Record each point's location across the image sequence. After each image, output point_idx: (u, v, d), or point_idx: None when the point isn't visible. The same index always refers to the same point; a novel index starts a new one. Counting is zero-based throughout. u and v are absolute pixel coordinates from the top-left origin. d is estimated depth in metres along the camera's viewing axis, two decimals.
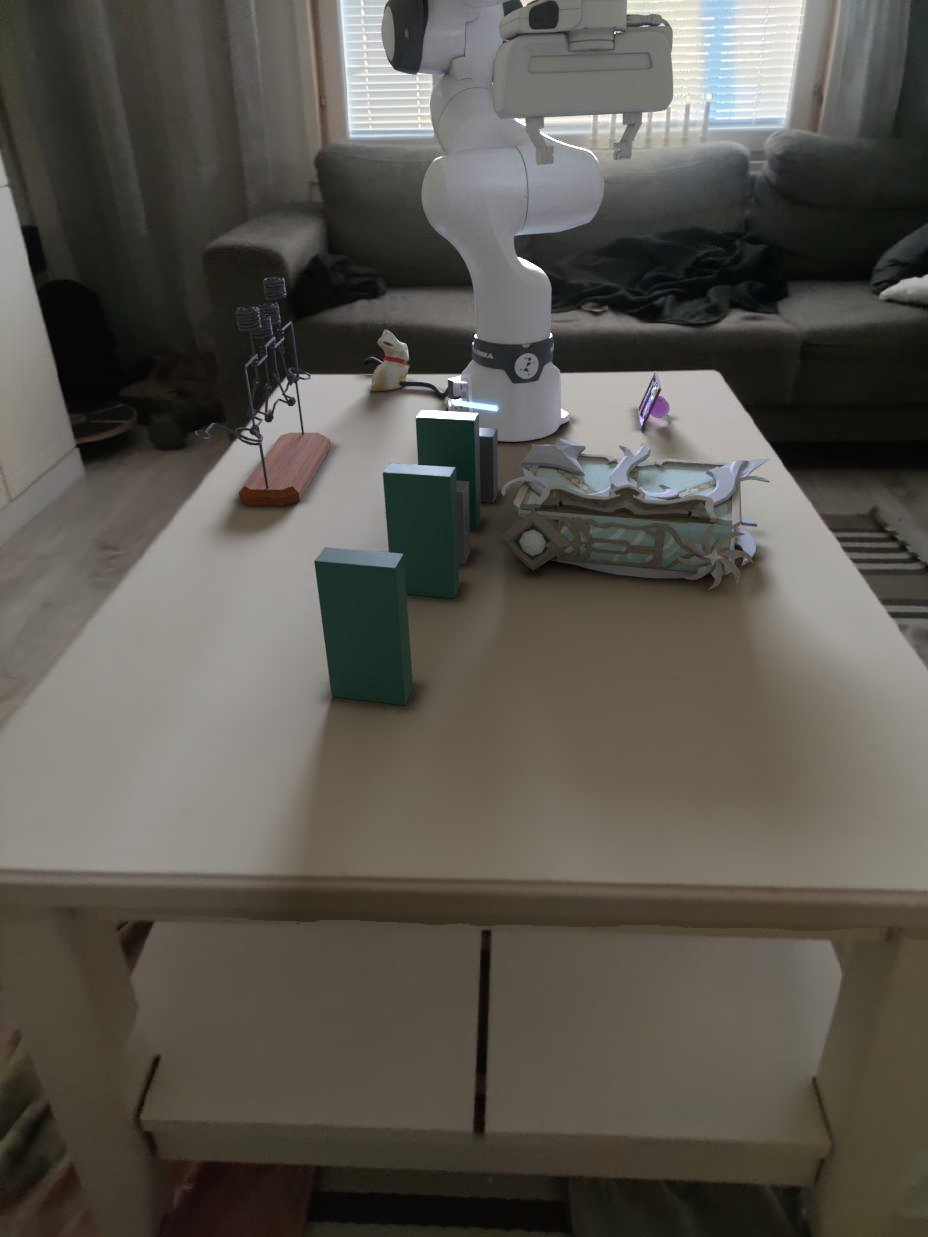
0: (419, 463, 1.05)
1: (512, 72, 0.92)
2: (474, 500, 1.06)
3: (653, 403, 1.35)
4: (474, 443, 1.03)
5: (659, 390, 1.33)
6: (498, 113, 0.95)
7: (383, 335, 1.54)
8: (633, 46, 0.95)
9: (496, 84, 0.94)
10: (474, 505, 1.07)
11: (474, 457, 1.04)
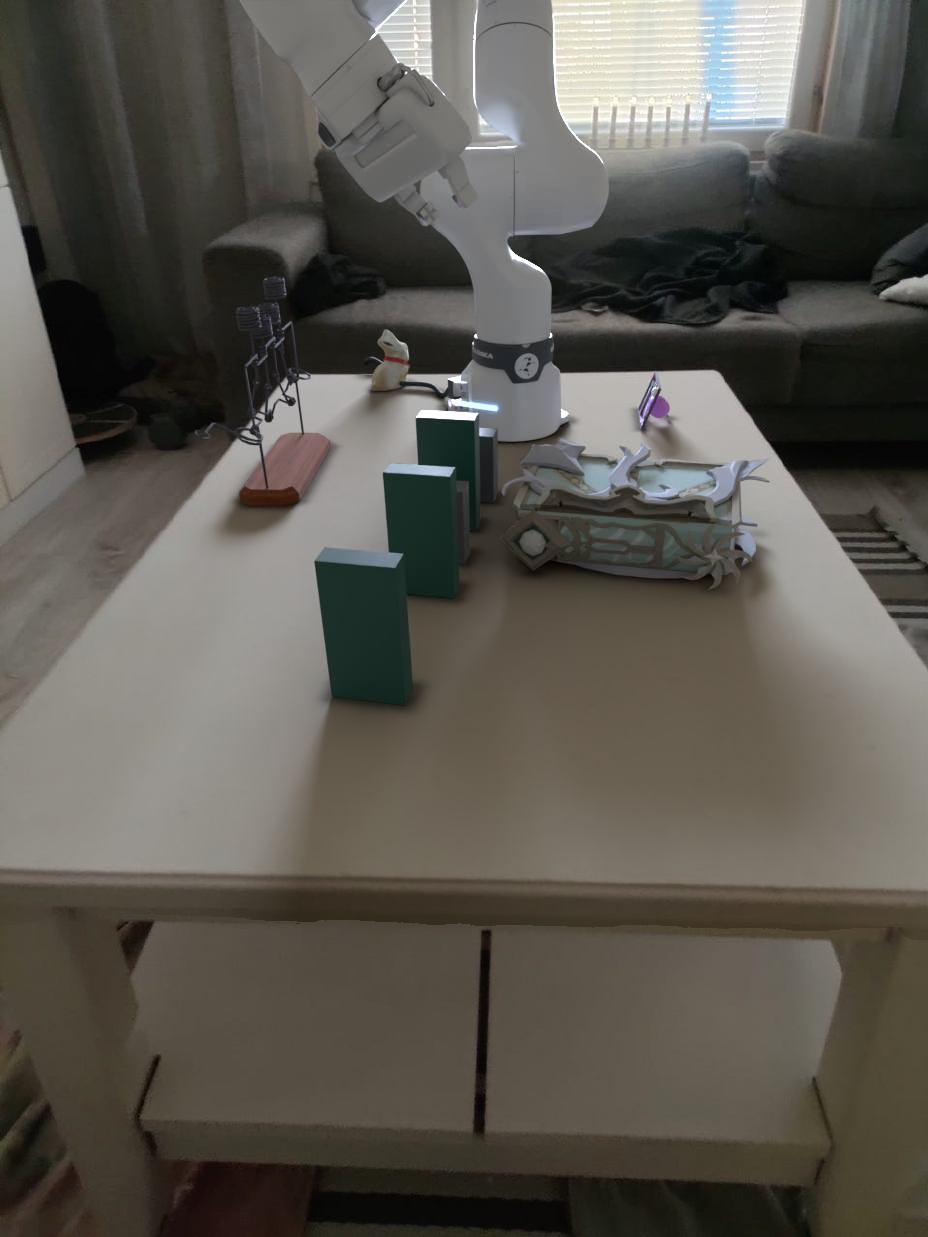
0: (419, 463, 1.05)
1: (352, 175, 0.97)
2: (474, 500, 1.06)
3: (653, 403, 1.35)
4: (474, 443, 1.03)
5: (659, 390, 1.33)
6: None
7: (383, 335, 1.54)
8: (390, 120, 0.84)
9: None
10: (474, 505, 1.07)
11: (474, 457, 1.04)
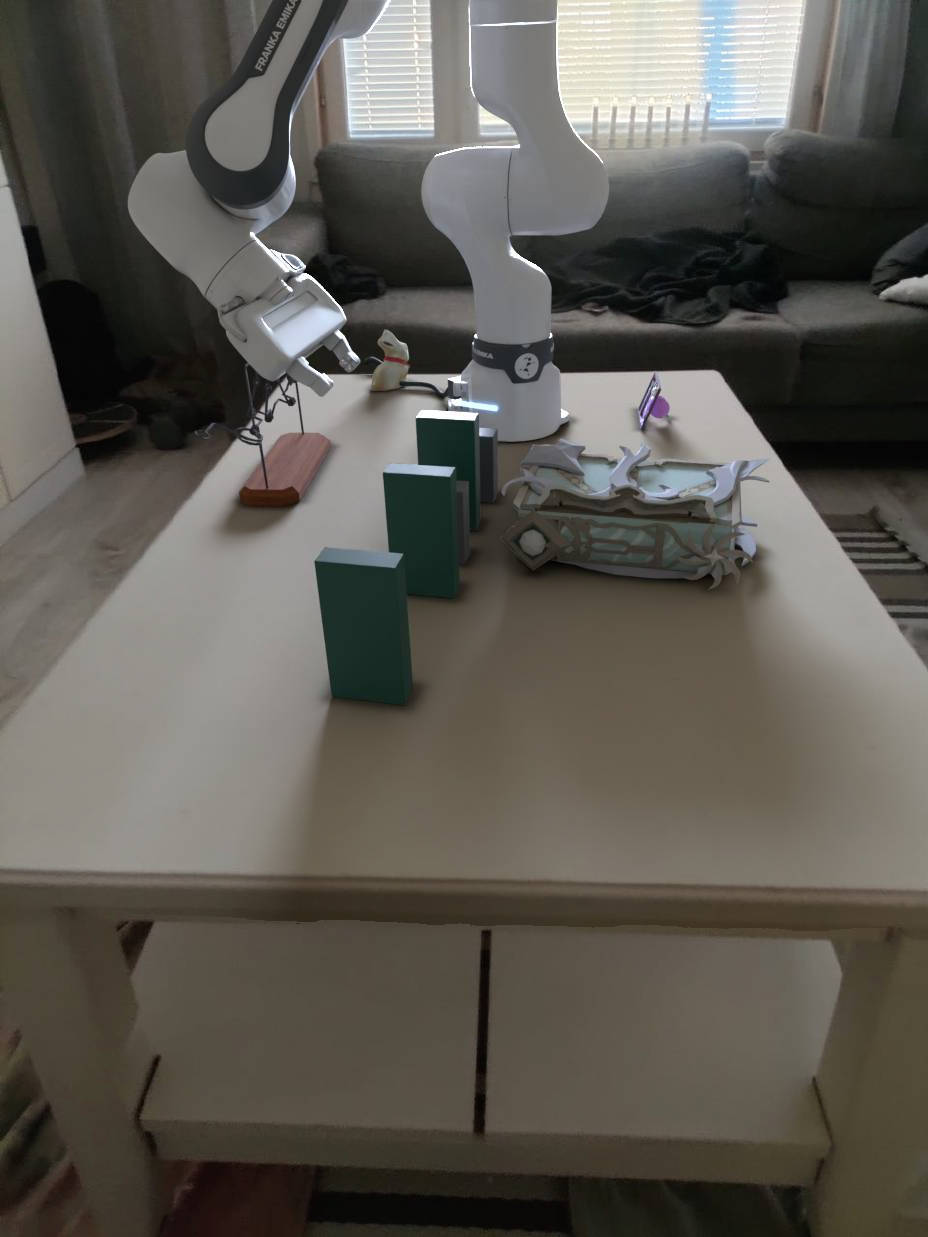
0: (419, 463, 1.05)
1: None
2: (474, 500, 1.06)
3: (653, 403, 1.35)
4: (474, 443, 1.03)
5: (659, 390, 1.33)
6: None
7: (383, 335, 1.54)
8: None
9: None
10: (474, 505, 1.07)
11: (474, 457, 1.04)
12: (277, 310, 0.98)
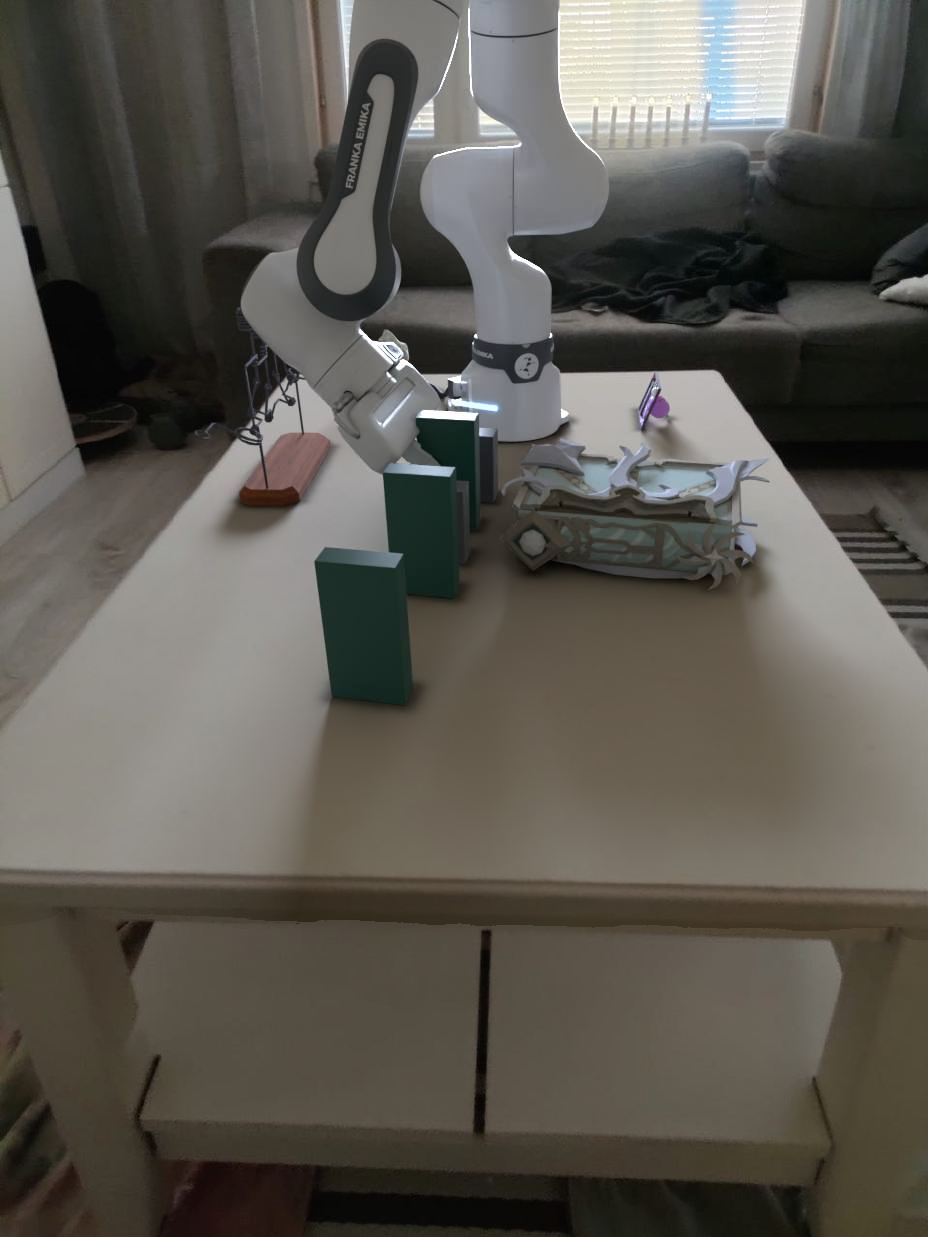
0: None
1: None
2: (474, 500, 1.06)
3: (653, 403, 1.35)
4: (474, 443, 1.03)
5: (659, 390, 1.33)
6: None
7: (383, 335, 1.54)
8: None
9: None
10: (474, 505, 1.07)
11: (474, 457, 1.04)
12: (383, 402, 1.01)
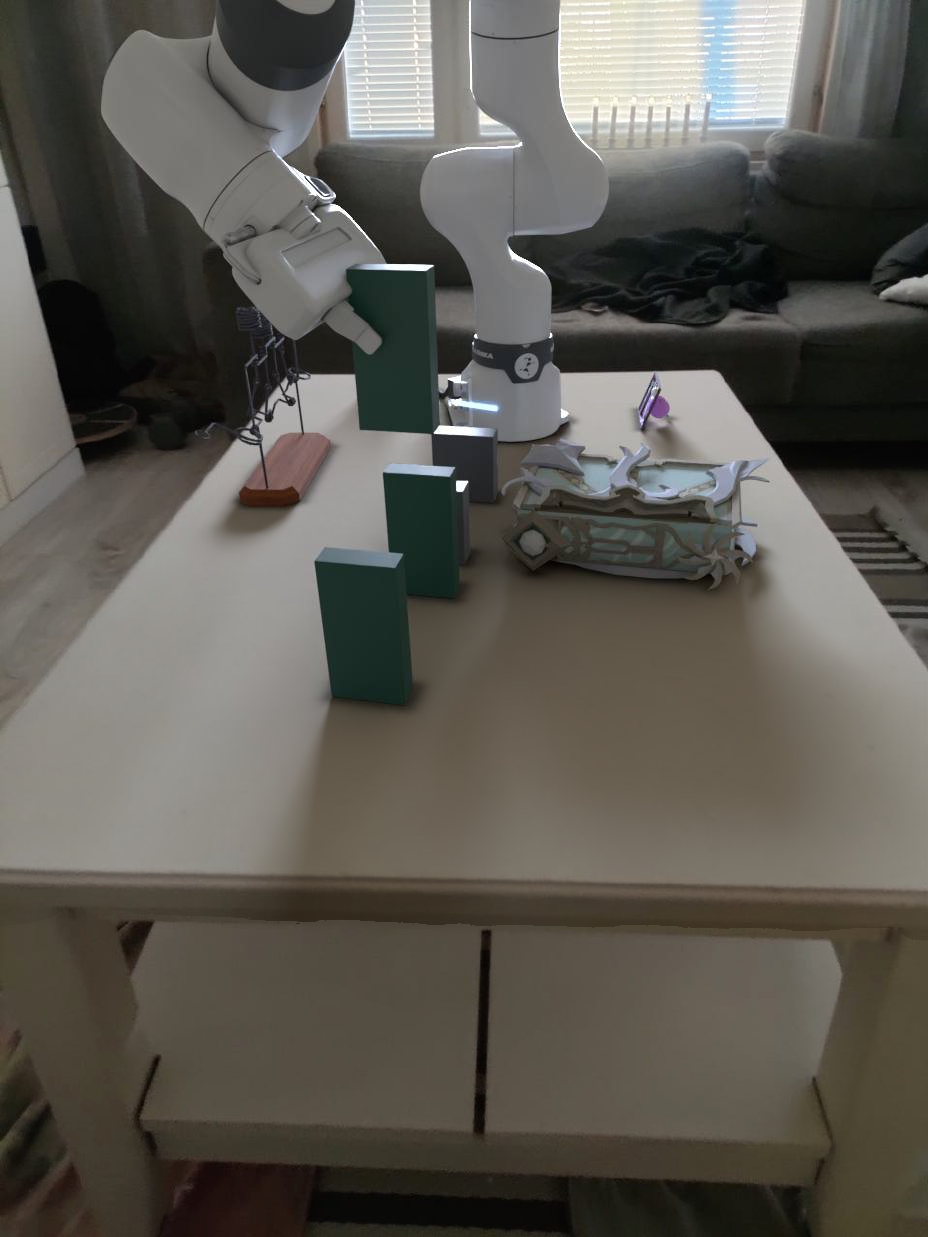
0: None
1: None
2: (429, 390, 0.78)
3: (653, 403, 1.35)
4: (427, 305, 0.74)
5: (659, 390, 1.33)
6: None
7: None
8: None
9: None
10: (429, 398, 0.78)
11: (427, 326, 0.75)
12: (301, 246, 0.73)
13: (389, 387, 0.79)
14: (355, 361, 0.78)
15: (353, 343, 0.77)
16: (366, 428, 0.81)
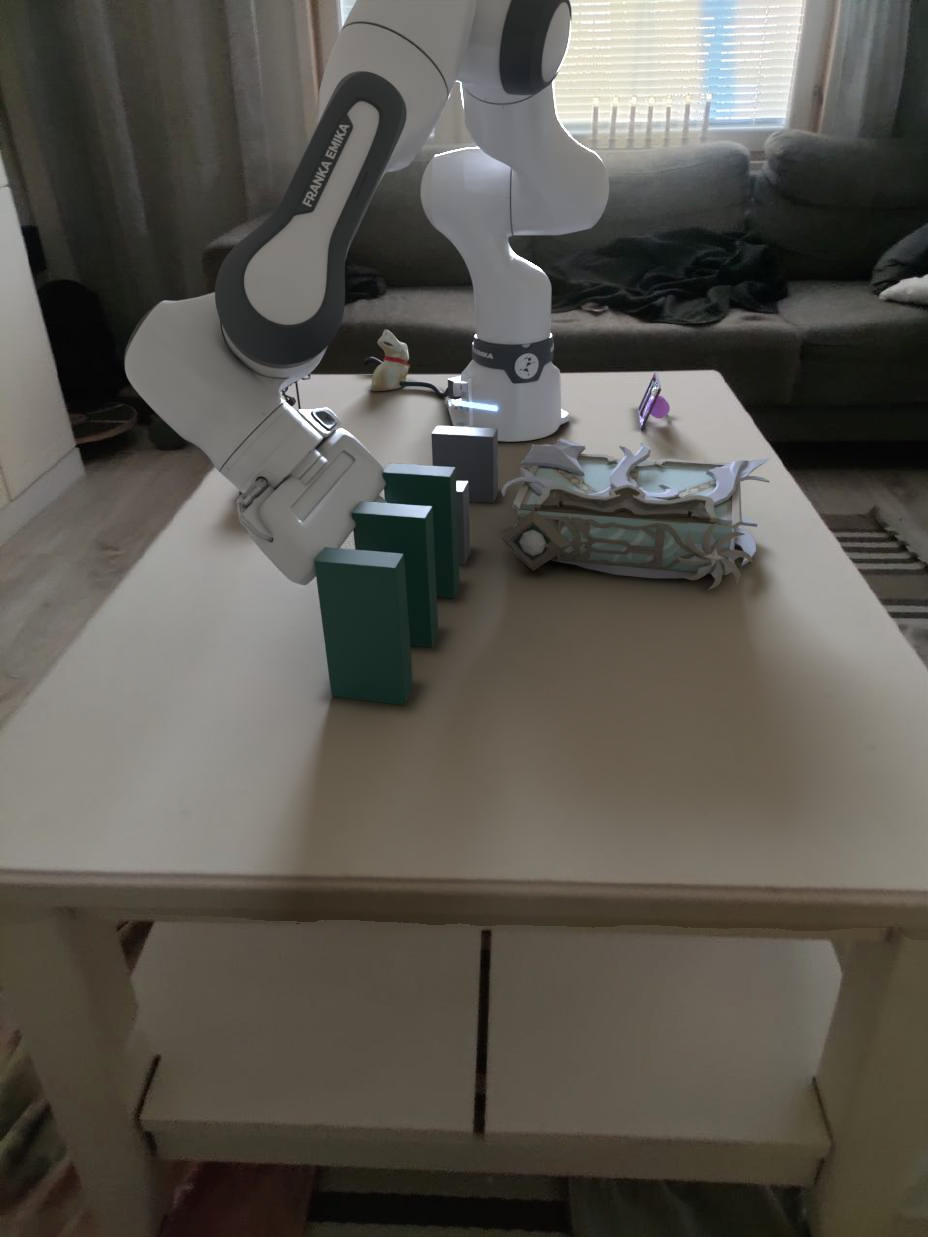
0: None
1: None
2: (428, 612, 0.85)
3: (653, 403, 1.35)
4: (426, 545, 0.81)
5: (659, 390, 1.33)
6: None
7: (383, 335, 1.54)
8: None
9: None
10: (428, 618, 0.85)
11: (426, 562, 0.82)
12: (309, 490, 0.79)
13: None
14: None
15: None
16: None
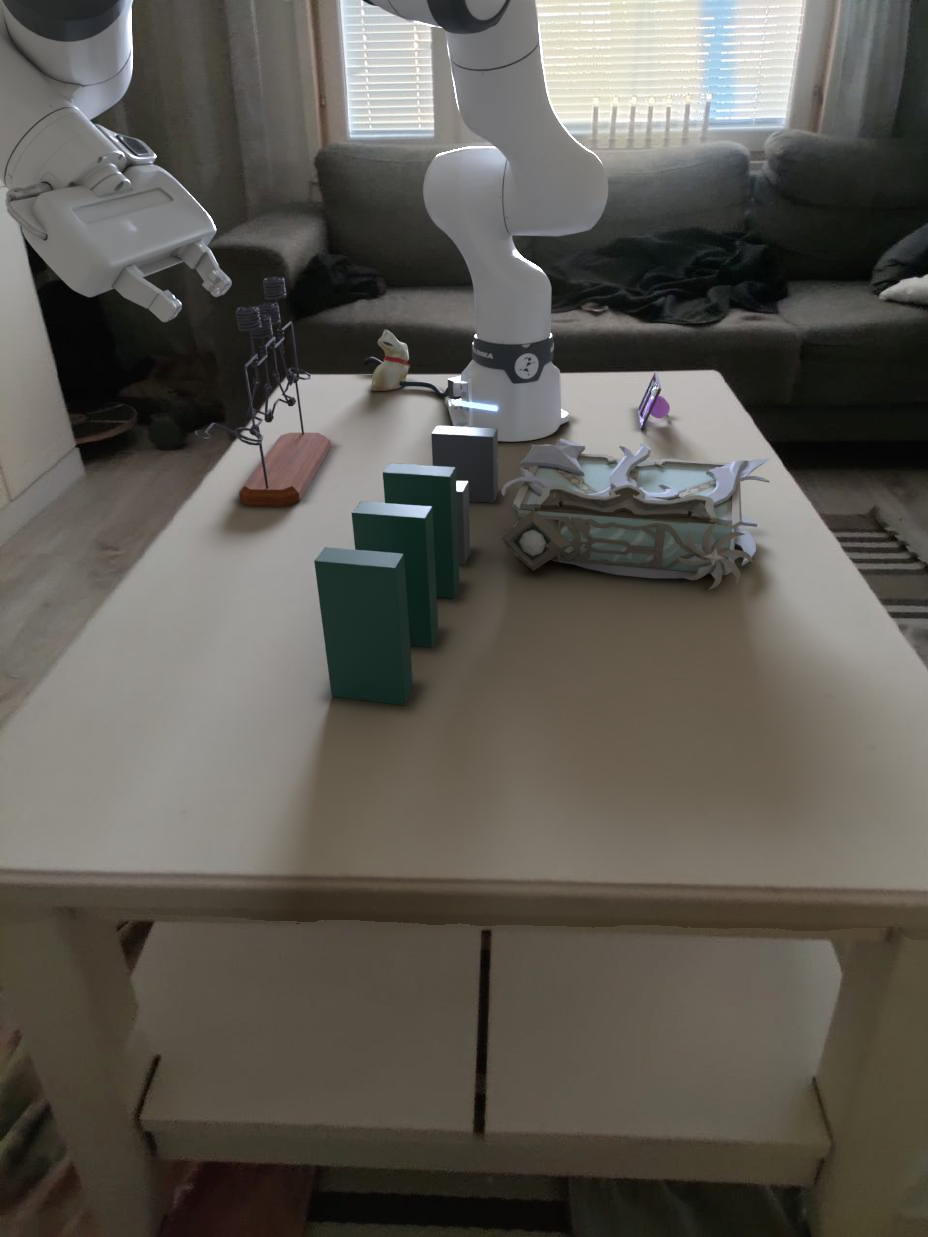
0: None
1: None
2: (428, 612, 0.85)
3: (653, 403, 1.35)
4: (426, 545, 0.81)
5: (659, 390, 1.33)
6: None
7: (383, 335, 1.54)
8: None
9: None
10: (428, 618, 0.85)
11: (426, 562, 0.82)
12: (103, 204, 0.72)
13: None
14: None
15: None
16: None
